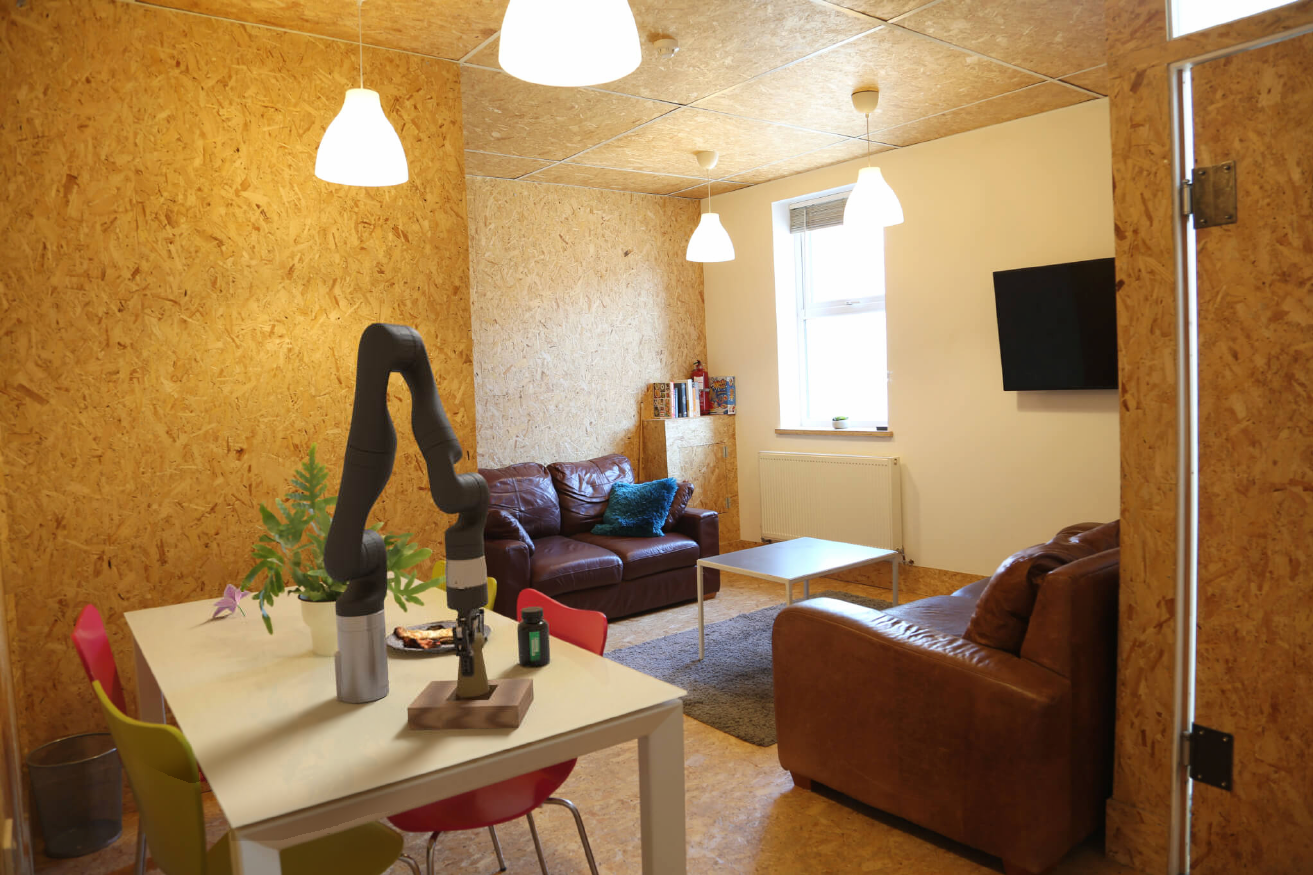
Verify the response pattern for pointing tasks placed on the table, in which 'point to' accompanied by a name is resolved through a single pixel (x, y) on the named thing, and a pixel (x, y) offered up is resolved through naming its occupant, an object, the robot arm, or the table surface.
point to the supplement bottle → (533, 638)
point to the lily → (230, 600)
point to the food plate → (426, 637)
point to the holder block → (471, 706)
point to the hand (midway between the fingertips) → (471, 670)
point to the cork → (479, 680)
